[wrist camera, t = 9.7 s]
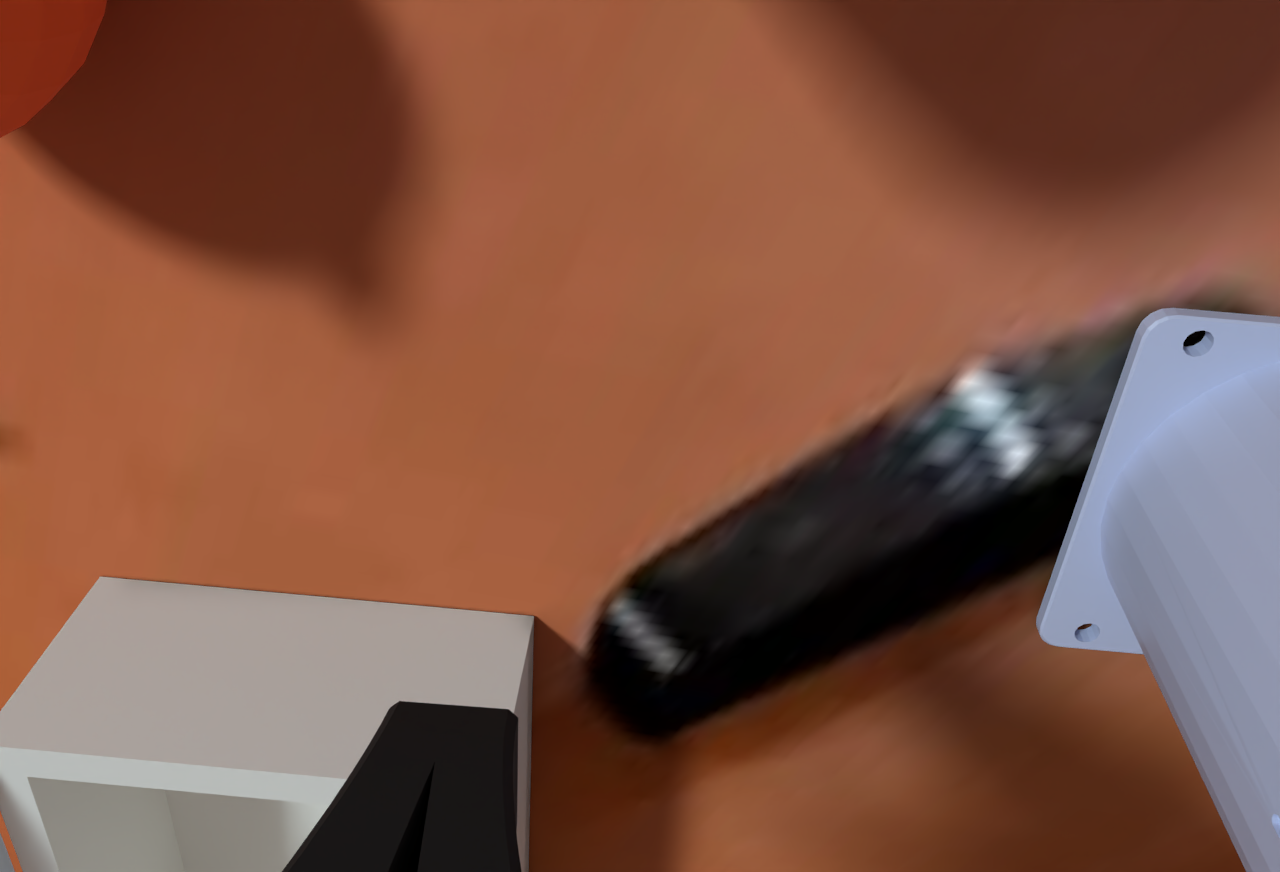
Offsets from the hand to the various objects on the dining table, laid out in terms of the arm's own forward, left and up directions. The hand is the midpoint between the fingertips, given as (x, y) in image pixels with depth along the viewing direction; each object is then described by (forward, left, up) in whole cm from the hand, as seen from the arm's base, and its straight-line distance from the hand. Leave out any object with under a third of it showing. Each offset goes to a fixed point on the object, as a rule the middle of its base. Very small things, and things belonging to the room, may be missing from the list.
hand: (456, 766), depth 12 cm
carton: (+5, +13, -10) cm, 18 cm away
